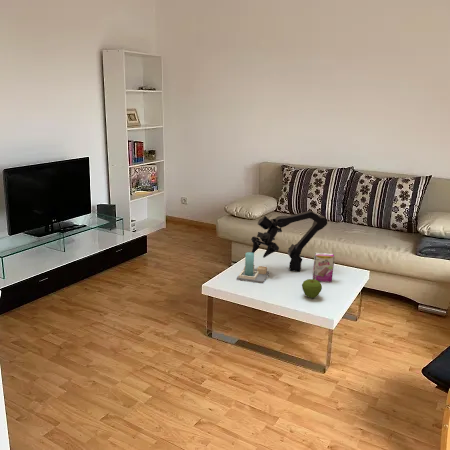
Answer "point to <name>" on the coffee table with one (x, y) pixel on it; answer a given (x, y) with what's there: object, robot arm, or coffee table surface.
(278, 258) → the coffee table surface
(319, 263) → the candy bar box
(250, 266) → the teal column
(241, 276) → the base board
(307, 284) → the apple
